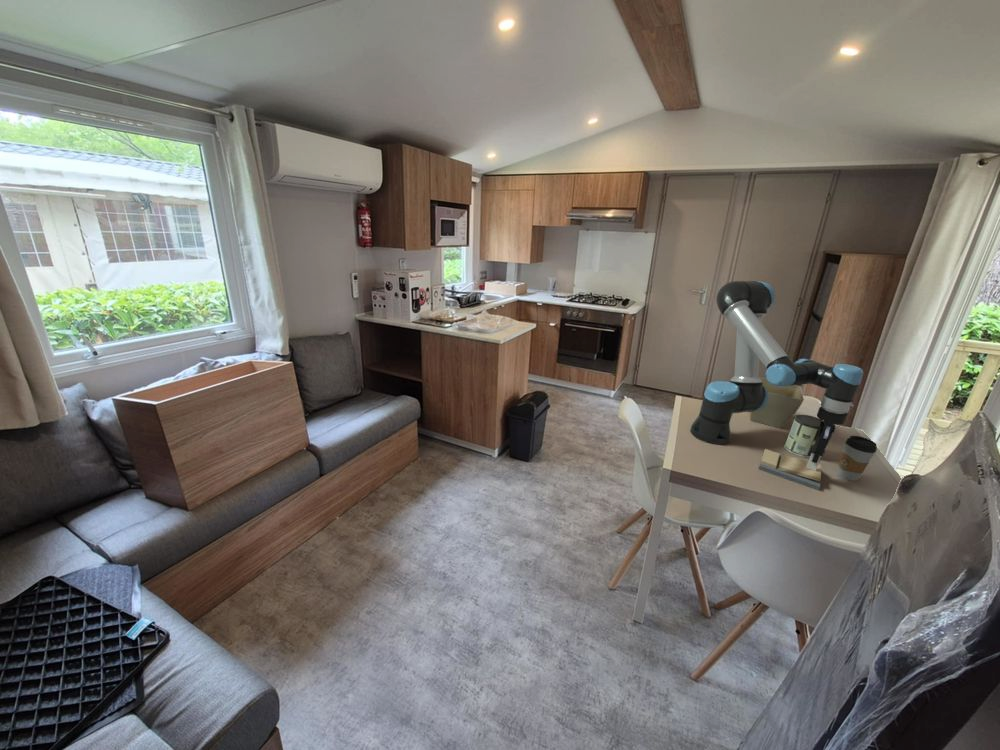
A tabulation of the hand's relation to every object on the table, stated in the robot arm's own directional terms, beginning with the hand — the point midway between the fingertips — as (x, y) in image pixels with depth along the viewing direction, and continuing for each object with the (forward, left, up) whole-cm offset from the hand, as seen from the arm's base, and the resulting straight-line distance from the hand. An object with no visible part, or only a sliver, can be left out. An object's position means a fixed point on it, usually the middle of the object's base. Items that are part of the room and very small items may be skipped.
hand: (811, 468), depth 140 cm
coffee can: (-4, +20, -4) cm, 21 cm away
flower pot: (-18, +43, -4) cm, 47 cm away
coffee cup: (+11, +11, -4) cm, 16 cm away
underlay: (-6, 0, -4) cm, 7 cm away
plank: (-3, 0, -2) cm, 3 cm away
